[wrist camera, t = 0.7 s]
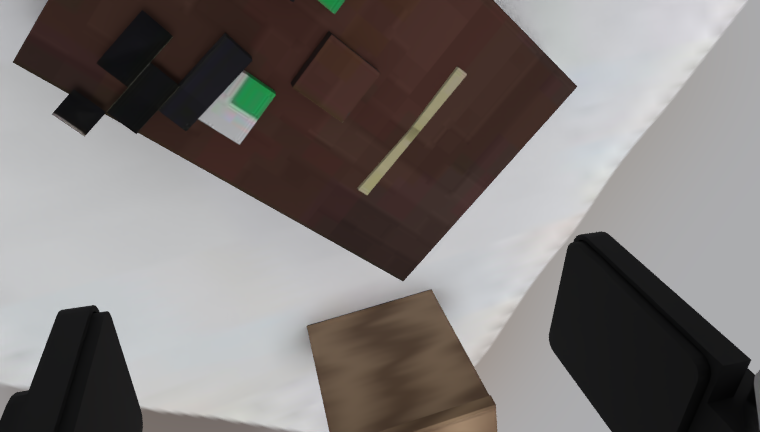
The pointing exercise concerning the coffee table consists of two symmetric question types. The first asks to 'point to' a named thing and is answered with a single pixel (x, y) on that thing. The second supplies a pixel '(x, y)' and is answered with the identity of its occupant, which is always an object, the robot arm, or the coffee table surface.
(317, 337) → the bookend
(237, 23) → the decorative book
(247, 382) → the coffee table surface
